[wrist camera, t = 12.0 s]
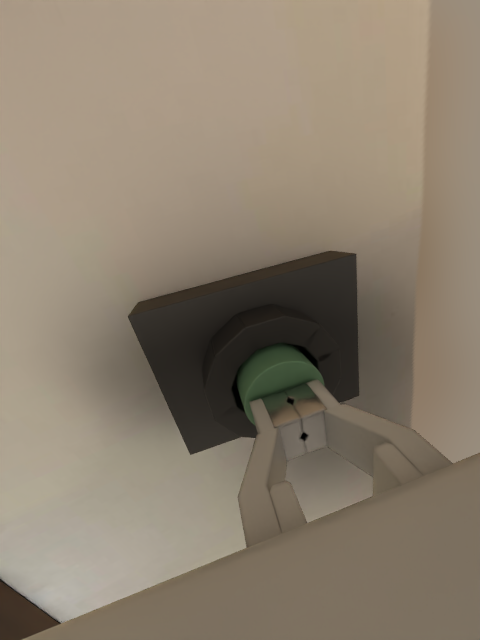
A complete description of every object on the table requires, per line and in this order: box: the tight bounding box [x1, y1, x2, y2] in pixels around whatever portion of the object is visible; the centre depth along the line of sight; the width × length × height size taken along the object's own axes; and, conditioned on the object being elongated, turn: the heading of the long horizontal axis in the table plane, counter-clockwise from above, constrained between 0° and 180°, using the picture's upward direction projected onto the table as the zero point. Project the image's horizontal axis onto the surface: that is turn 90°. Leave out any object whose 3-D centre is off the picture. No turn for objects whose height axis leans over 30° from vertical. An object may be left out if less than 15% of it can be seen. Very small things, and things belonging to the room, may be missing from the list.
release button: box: [236, 343, 324, 426], centre depth 10 cm, size 4×4×2 cm
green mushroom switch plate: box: [128, 251, 359, 454], centre depth 12 cm, size 11×9×4 cm
